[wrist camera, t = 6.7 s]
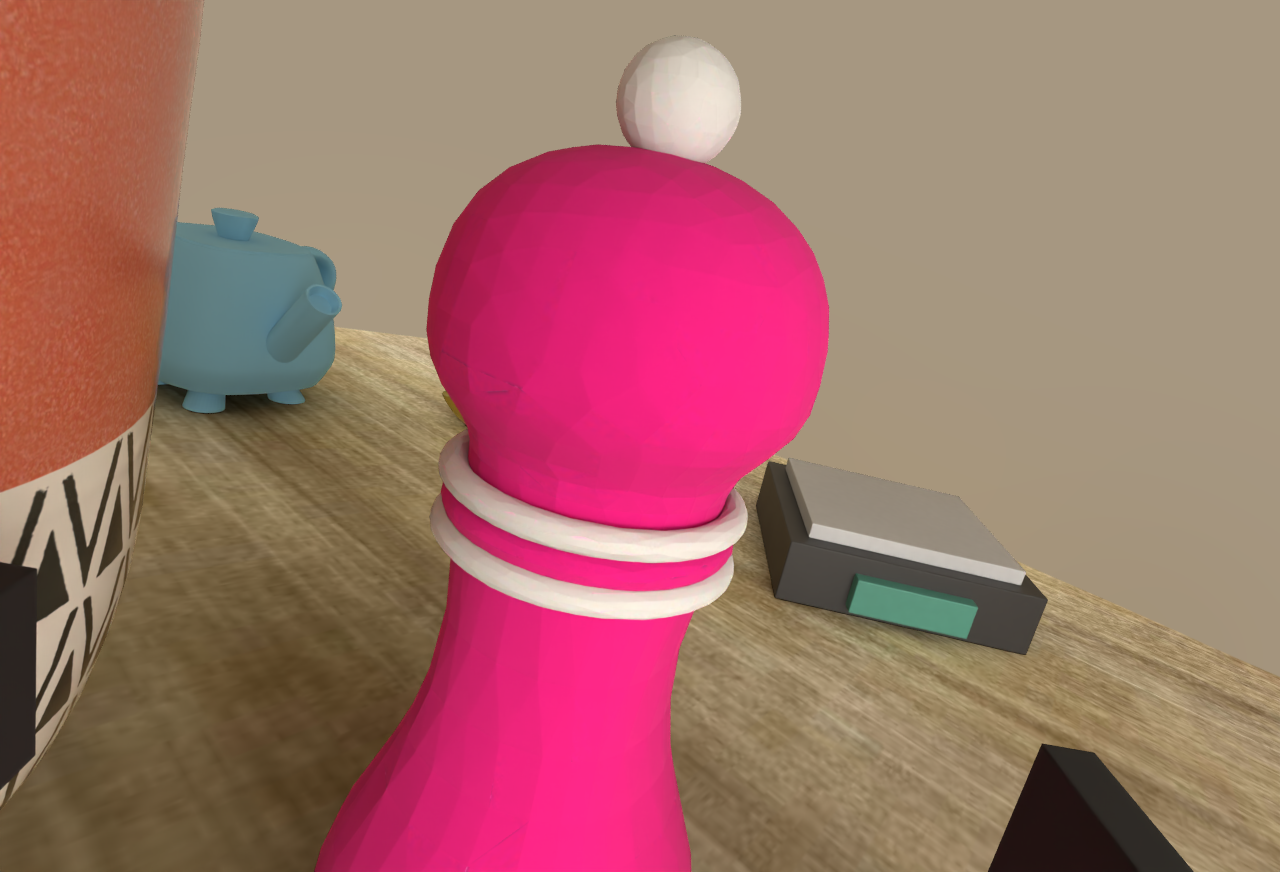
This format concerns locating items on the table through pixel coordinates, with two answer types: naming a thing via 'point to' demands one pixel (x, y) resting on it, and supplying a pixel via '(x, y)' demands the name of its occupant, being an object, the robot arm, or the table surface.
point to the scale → (892, 556)
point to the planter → (84, 304)
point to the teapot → (246, 314)
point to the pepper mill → (590, 483)
